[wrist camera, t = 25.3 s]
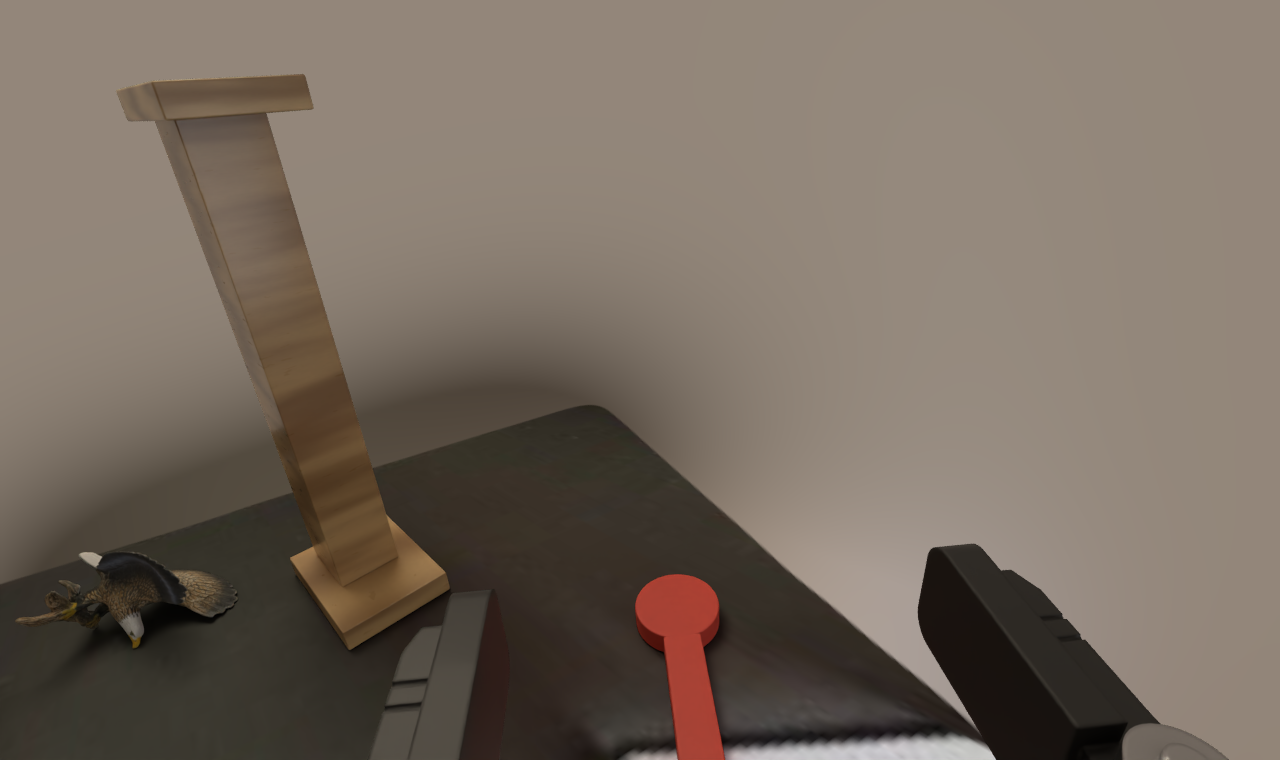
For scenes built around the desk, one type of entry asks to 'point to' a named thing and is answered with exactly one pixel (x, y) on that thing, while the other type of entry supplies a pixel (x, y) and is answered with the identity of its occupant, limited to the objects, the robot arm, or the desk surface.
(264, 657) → the desk surface
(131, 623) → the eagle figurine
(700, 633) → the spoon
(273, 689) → the desk surface
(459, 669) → the robot arm
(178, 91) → the stand
